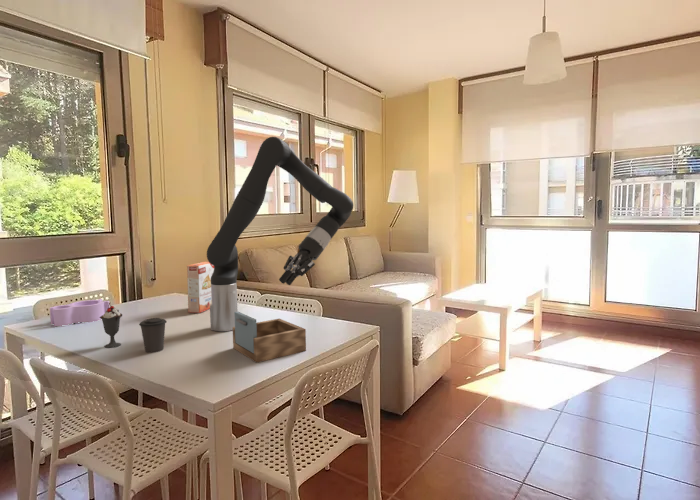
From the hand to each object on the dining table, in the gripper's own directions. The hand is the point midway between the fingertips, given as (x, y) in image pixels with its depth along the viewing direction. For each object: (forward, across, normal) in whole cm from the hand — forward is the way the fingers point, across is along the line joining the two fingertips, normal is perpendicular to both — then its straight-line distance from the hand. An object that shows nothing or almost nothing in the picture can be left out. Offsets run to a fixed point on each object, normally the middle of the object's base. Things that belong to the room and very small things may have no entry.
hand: (284, 282), depth 142 cm
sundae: (+47, -36, -17) cm, 61 cm away
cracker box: (+17, -68, +13) cm, 72 cm away
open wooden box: (+19, 0, +11) cm, 22 cm away
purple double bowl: (+50, -82, -19) cm, 97 cm away
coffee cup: (+40, -23, -10) cm, 47 cm away
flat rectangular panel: (+24, 0, +3) cm, 24 cm away
